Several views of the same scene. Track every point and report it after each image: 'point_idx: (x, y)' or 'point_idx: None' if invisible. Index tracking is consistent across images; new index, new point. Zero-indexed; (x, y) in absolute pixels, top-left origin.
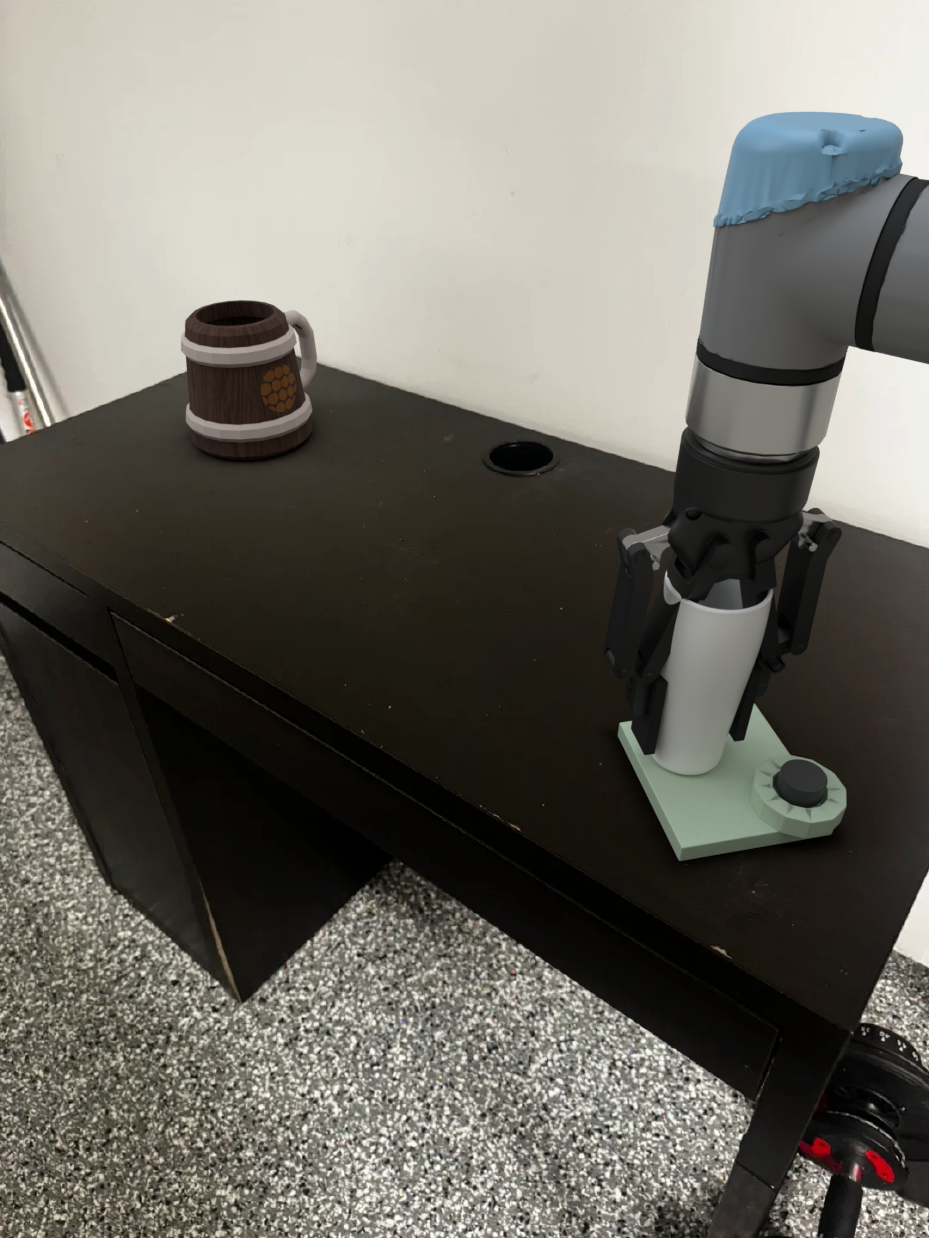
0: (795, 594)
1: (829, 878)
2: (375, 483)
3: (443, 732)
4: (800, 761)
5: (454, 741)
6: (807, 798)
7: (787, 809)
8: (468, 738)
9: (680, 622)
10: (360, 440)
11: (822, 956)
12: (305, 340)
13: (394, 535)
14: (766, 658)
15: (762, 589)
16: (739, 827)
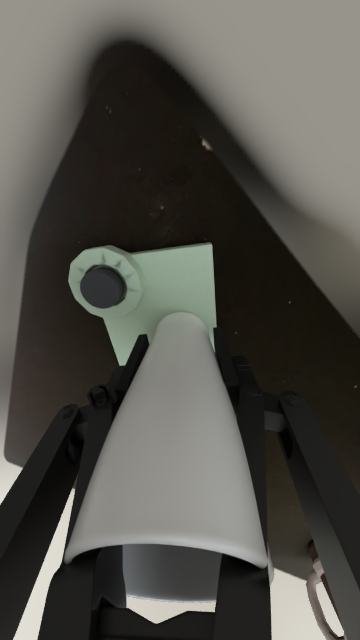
0: (37, 513)
1: (100, 216)
2: (288, 517)
3: (330, 365)
4: (99, 305)
5: (326, 358)
6: (101, 269)
7: (120, 263)
8: (316, 359)
9: (251, 489)
10: (284, 537)
11: (122, 130)
12: (322, 617)
13: (293, 490)
14: (107, 403)
15: (84, 574)
16: (160, 260)
